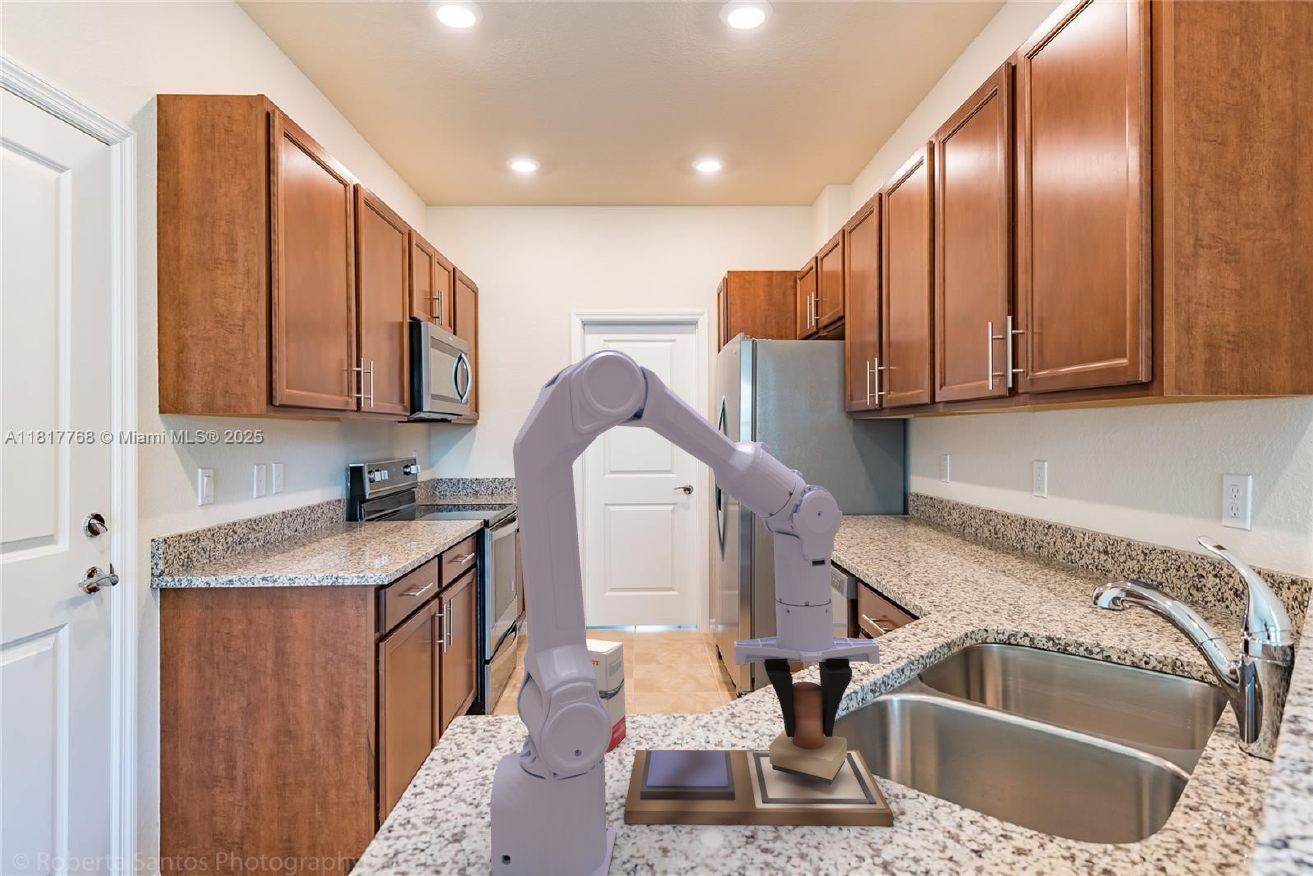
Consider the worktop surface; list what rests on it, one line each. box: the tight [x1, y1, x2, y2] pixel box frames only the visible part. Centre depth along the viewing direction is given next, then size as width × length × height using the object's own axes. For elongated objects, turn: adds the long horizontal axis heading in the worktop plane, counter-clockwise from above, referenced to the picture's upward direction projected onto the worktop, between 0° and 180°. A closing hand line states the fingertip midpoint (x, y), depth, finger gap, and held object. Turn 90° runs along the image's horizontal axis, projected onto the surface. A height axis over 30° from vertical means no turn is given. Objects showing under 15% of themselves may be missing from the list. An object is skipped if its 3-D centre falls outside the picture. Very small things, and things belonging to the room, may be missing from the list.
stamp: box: [768, 681, 848, 785], centre depth 64 cm, size 6×5×8 cm
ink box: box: [586, 638, 627, 753], centre depth 76 cm, size 8×5×12 cm, turn 66°
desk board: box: [623, 749, 894, 827], centre depth 64 cm, size 25×12×2 cm, turn 87°
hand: (808, 732), depth 63 cm, fingers closed on stamp, 3 cm apart
